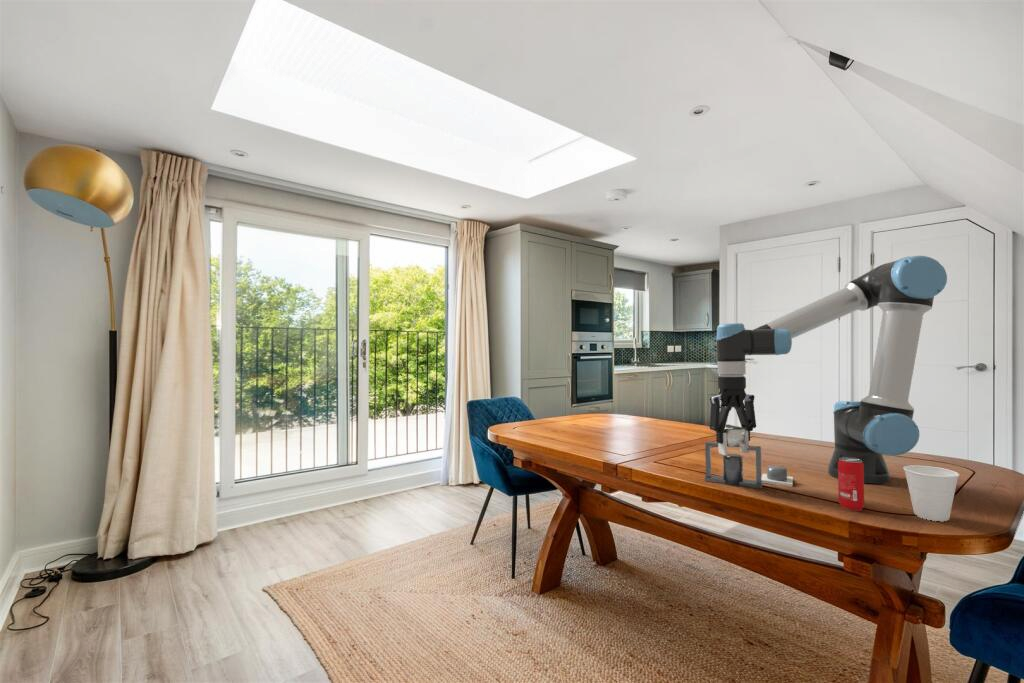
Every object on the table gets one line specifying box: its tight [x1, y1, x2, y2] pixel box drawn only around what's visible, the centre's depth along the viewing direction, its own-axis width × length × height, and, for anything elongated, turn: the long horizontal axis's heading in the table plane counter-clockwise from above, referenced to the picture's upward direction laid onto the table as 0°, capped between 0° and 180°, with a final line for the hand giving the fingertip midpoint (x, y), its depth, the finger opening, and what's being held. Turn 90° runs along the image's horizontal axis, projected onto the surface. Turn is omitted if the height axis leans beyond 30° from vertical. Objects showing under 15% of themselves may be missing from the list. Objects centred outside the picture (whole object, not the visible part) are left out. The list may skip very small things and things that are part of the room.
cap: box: [724, 423, 748, 449], centre depth 138 cm, size 11×7×6 cm, turn 13°
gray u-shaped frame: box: [704, 441, 764, 489], centre depth 138 cm, size 15×5×11 cm, turn 58°
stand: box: [762, 465, 794, 488], centre depth 139 cm, size 8×8×4 cm
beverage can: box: [837, 457, 865, 512], centre depth 117 cm, size 5×5×12 cm
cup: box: [902, 464, 960, 523], centre depth 110 cm, size 10×10×11 cm
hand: (733, 453), depth 138 cm, fingers closed on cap, 7 cm apart
